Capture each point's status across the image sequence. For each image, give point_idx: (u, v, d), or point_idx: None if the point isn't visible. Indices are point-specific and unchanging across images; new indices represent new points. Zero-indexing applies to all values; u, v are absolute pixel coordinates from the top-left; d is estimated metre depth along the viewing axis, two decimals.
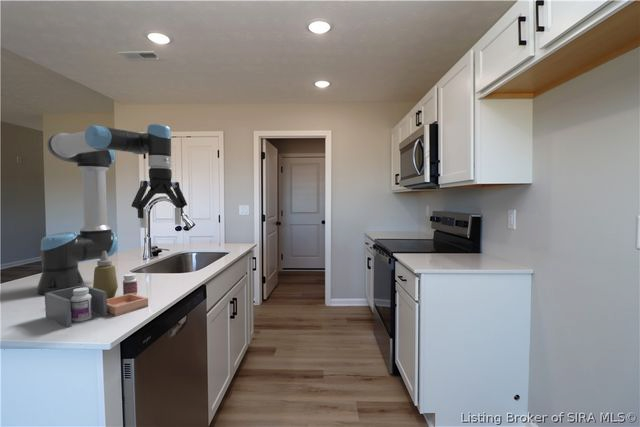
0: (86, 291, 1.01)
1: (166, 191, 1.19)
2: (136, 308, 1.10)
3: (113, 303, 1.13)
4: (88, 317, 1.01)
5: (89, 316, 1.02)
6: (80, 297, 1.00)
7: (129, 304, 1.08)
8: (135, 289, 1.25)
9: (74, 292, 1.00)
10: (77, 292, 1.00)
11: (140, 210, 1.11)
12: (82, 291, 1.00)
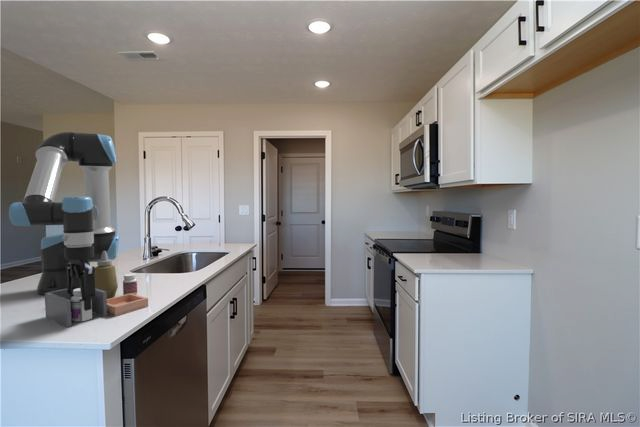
0: None
1: None
2: (136, 308, 1.10)
3: (113, 303, 1.13)
4: None
5: None
6: (80, 297, 1.00)
7: (129, 304, 1.08)
8: (135, 289, 1.25)
9: (74, 292, 1.00)
10: (77, 292, 1.00)
11: None
12: None
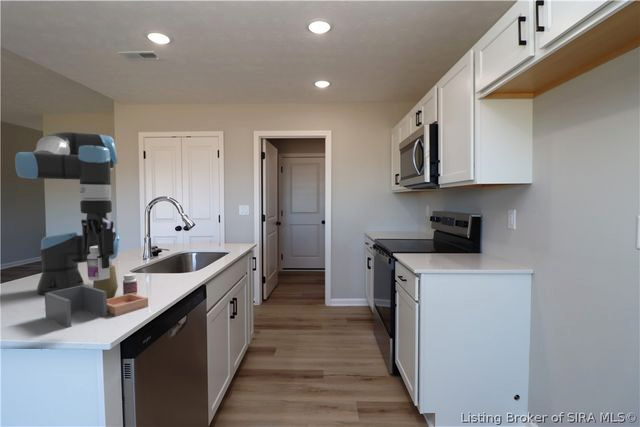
0: None
1: None
2: (136, 308, 1.10)
3: (113, 303, 1.13)
4: None
5: None
6: (98, 254, 0.93)
7: (129, 304, 1.08)
8: (135, 289, 1.25)
9: (91, 249, 0.93)
10: (94, 249, 0.93)
11: None
12: None
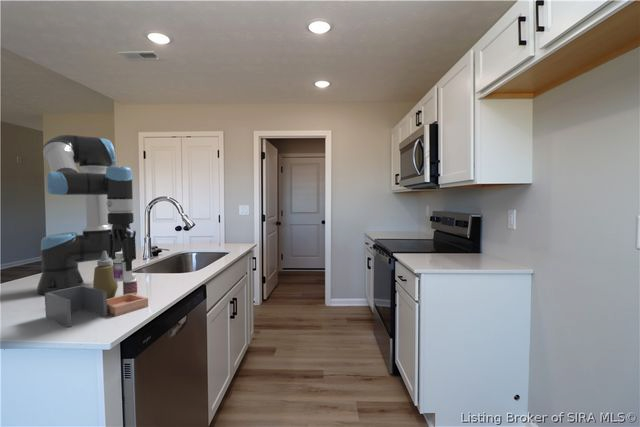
0: None
1: None
2: (136, 308, 1.10)
3: (113, 303, 1.13)
4: None
5: None
6: (122, 259, 1.09)
7: (129, 304, 1.08)
8: (135, 289, 1.25)
9: (116, 254, 1.09)
10: (119, 254, 1.09)
11: None
12: None
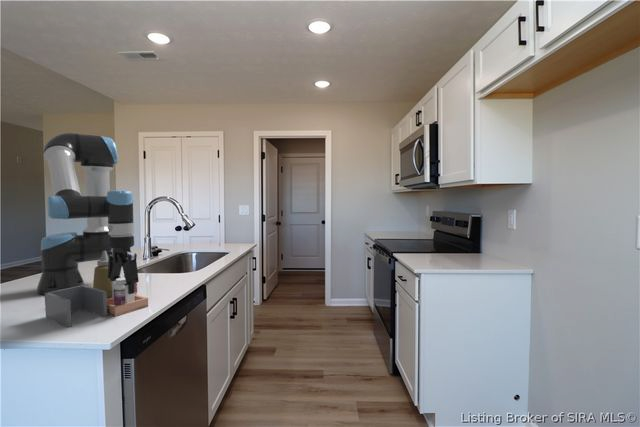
0: None
1: None
2: (136, 308, 1.10)
3: (113, 303, 1.13)
4: None
5: None
6: (123, 286, 1.09)
7: (129, 304, 1.08)
8: (135, 289, 1.25)
9: (117, 281, 1.09)
10: (120, 281, 1.09)
11: None
12: (124, 280, 1.10)
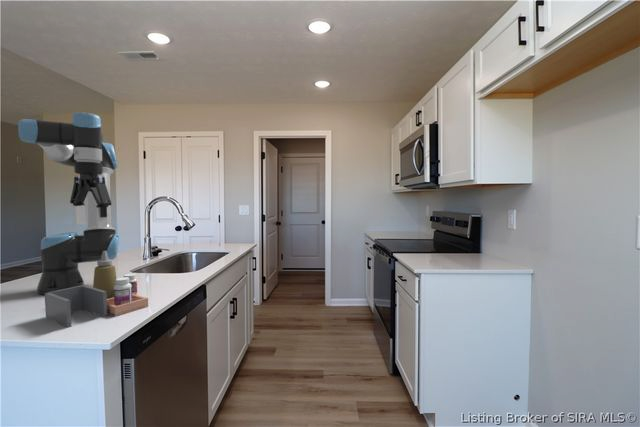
0: (127, 280, 1.11)
1: None
2: (136, 308, 1.10)
3: (113, 303, 1.13)
4: None
5: None
6: (123, 286, 1.10)
7: (129, 304, 1.08)
8: (135, 289, 1.25)
9: (117, 281, 1.09)
10: (120, 281, 1.09)
11: None
12: (124, 280, 1.10)
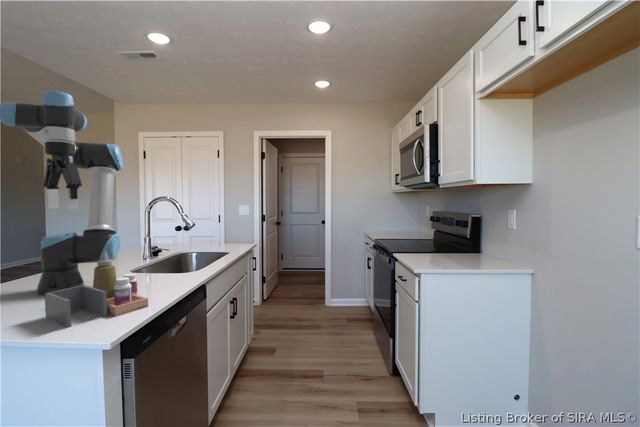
0: (127, 280, 1.11)
1: None
2: (136, 308, 1.10)
3: (113, 303, 1.13)
4: None
5: None
6: (123, 286, 1.10)
7: (129, 304, 1.08)
8: (135, 289, 1.25)
9: (117, 281, 1.09)
10: (120, 281, 1.09)
11: None
12: (124, 280, 1.10)
